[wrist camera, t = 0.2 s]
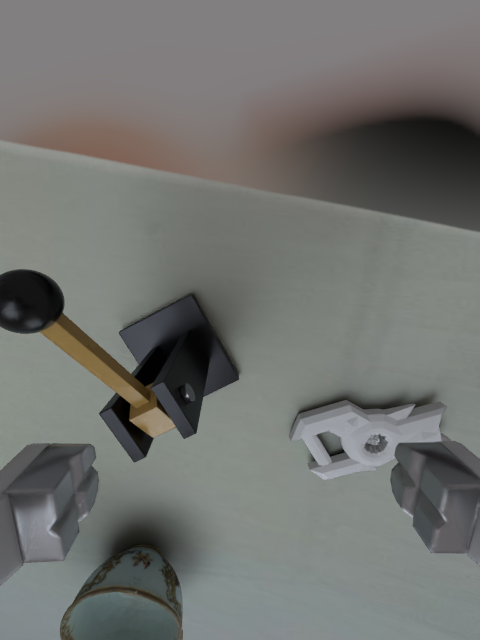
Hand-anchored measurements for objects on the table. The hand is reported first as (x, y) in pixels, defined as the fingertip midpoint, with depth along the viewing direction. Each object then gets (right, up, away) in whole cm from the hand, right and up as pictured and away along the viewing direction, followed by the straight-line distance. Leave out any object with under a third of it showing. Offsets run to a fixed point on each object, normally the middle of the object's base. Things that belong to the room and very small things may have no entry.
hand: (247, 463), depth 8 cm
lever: (-9, +2, +11) cm, 15 cm away
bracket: (-7, 0, +25) cm, 26 cm away
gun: (+15, -10, +28) cm, 33 cm away
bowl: (-14, -30, +32) cm, 46 cm away
